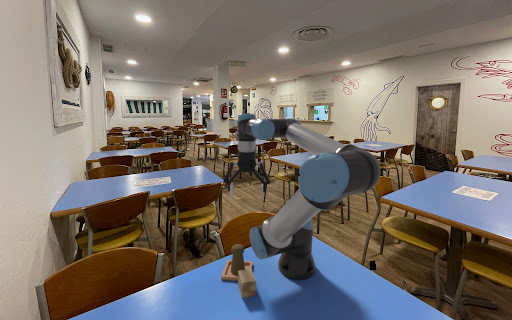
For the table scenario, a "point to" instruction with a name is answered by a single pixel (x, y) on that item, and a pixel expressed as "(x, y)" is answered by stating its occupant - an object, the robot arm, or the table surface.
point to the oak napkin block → (246, 283)
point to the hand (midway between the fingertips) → (246, 198)
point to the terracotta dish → (227, 270)
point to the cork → (237, 259)
